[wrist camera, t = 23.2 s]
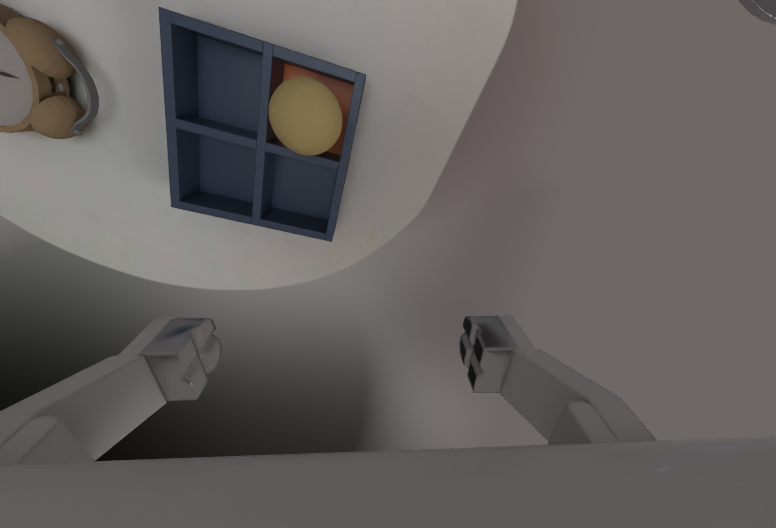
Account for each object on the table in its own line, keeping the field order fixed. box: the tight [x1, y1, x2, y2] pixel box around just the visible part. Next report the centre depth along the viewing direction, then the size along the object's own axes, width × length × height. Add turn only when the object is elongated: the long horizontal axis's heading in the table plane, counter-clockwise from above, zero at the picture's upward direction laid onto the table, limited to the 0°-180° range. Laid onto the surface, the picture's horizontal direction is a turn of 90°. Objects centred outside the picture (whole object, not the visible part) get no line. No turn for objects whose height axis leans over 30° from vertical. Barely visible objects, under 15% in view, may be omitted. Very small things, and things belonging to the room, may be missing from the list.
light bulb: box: [269, 76, 342, 156], centre depth 29 cm, size 6×6×10 cm
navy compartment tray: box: [159, 7, 366, 242], centre depth 32 cm, size 18×18×5 cm
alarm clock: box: [0, 4, 99, 139], centre depth 29 cm, size 11×5×15 cm
